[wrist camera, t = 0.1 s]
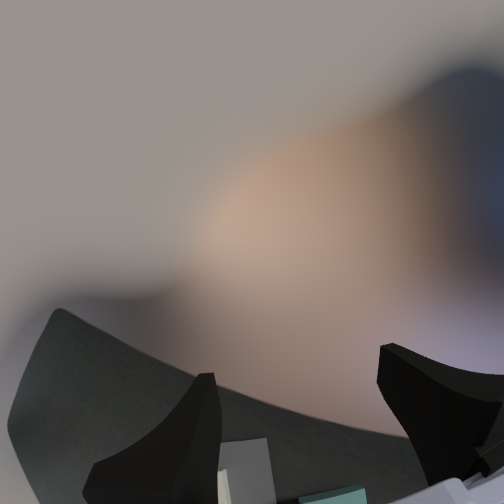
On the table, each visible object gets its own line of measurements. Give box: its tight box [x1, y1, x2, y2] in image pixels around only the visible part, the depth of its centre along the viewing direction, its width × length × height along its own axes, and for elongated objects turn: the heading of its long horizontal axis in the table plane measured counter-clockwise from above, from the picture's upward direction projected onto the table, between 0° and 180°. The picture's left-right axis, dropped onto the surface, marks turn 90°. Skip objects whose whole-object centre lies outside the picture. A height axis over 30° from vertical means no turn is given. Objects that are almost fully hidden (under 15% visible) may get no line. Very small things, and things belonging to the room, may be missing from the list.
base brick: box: [218, 469, 231, 504], centre depth 29 cm, size 8×8×4 cm
